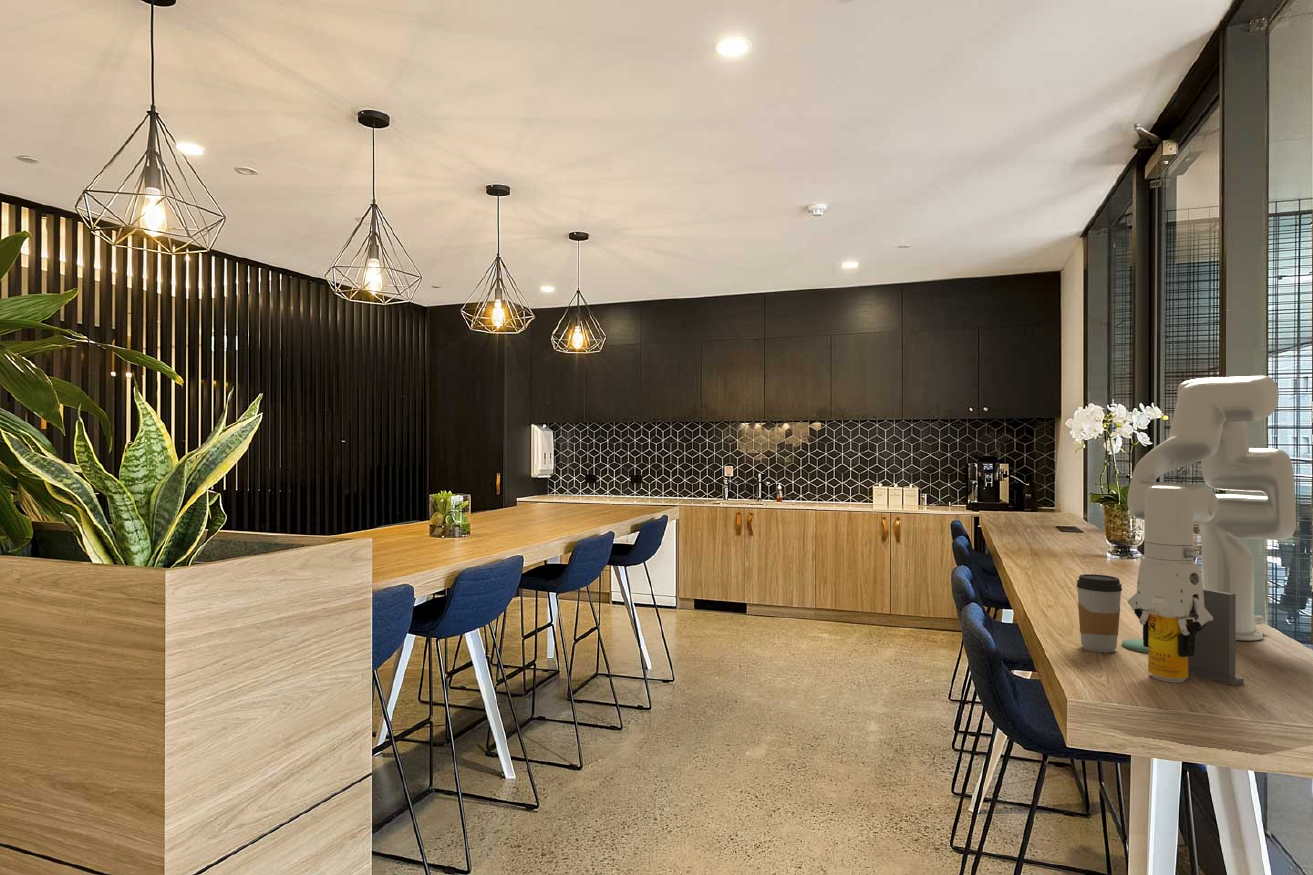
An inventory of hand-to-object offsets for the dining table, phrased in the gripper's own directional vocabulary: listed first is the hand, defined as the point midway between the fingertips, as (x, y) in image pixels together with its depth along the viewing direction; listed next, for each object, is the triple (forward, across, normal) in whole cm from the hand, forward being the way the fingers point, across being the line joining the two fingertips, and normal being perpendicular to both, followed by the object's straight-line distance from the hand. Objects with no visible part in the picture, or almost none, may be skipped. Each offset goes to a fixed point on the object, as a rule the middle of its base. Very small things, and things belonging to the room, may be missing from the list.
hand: (1168, 650), depth 141 cm
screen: (+5, 0, -8) cm, 9 cm away
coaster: (+5, +16, -16) cm, 23 cm away
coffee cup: (+5, +19, -5) cm, 20 cm away
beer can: (+5, 0, 0) cm, 5 cm away
